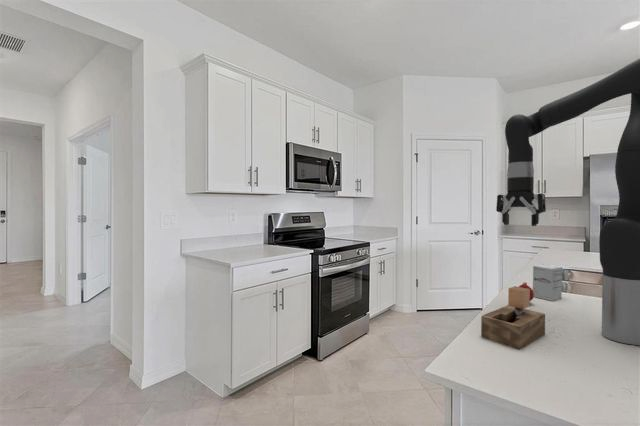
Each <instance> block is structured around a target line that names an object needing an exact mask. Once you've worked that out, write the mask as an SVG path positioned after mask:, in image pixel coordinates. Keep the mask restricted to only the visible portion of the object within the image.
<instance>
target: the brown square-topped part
mask: <svg viewBox="0 0 640 426" xmlns="http://www.w3.org/2000/svg"><path fill="white" fill-rule="evenodd" d="M507 292H508V298H507V299H508V301H507V302H508V306H513V307H515V321H516V317H518V316H520V315H522V314H523V309H527V308H529V307H530V306H531V305H530V304H531V301H530V289H527V288H522V287H519V286H511V287H508V290H507Z"/></svg>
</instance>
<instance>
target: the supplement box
mask: <svg viewBox="0 0 640 426" xmlns="http://www.w3.org/2000/svg"><path fill="white" fill-rule="evenodd" d="M532 268H533V269H532V290H533V293H534V297H533V298H537V299H542V300H545V301H546V300H547V301H549V302H554V300H555V301H557V300H561V299H562V295H563V294H562V293H563V292H562V289H563V266H557V265H551V264H545V263H540V264H534V265H532Z"/></svg>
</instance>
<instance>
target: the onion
mask: <svg viewBox="0 0 640 426" xmlns="http://www.w3.org/2000/svg"><path fill="white" fill-rule="evenodd" d="M518 287H522V288H527V289H530V302H531V301H532V300H533V299H534V298H535V297H534V293H533V288H531V287H530V286H529V285H528V283H527V282H525V281H523V282H522V283H521V285H519V286H518Z"/></svg>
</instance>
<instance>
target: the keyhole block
mask: <svg viewBox="0 0 640 426" xmlns="http://www.w3.org/2000/svg"><path fill="white" fill-rule="evenodd" d="M480 319H481V320H480V321H481V325H480V328H481V329H480V331H481V332H480V333H481V335H480V336H481V337H480V338H483V339H487V340H490V341H492V342H495V343H498V344H502V345H503V346H508V347H509V348H513V349H516V350H521V349H523V348H525V347H527V346H528V345H530V344H532V343H533V342H535V341H536V340H538V339H540V338H542V337H543V336H545V335H546V313H544V312H538V311H535V310H532V309H527V308H525V309H523V314H522V315H520V316H518V317H516V321H515V307H513V306H508V305H504V306H503V307H500V308H498V309H495V310H492V311H490V312H488V313H485V314H483V315H481V318H480Z"/></svg>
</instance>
